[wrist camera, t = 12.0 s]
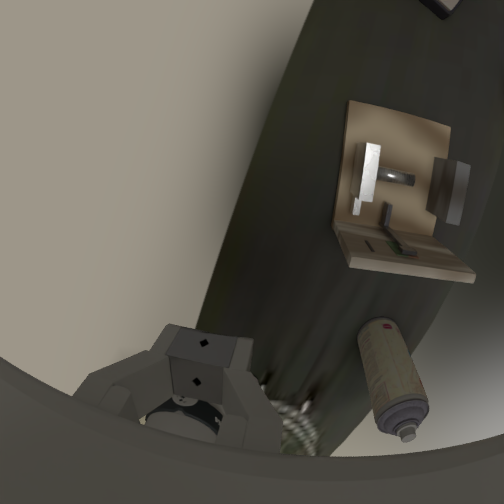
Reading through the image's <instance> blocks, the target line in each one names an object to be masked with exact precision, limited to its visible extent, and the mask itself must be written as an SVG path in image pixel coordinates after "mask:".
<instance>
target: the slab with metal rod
mask: <svg viewBox="0 0 504 504" xmlns="http://www.w3.org/2000/svg"><path fill="white" fill-rule="evenodd" d="M380 148H381V145H376V144H371V143H361V142H357V145H356V153H355V161H354V168H353V175H352V182H351V188H350V192H351V193H352V194H353V196H352V202H351V208H350V212H351V213H352V215H358V216H359V213H360V207H361V202H362V201H367V202H372V201H373V195H374V189H375V183H376V180H379V181H384V182H389V183H394V184H399V185H404V186H408V187H413V186H414V184H415V174H413V173H409V172H404V171H400V170H396V169H391V168H386V167H382V166H378V163H379V156H380Z"/></svg>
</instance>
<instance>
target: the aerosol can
mask: <svg viewBox="0 0 504 504" xmlns="http://www.w3.org/2000/svg"><path fill="white" fill-rule="evenodd" d="M357 341H358V346H359V350H360V354H361V358H362V362H363V366H364V371H365V375H366V380H367V384H368V389H369V394H370V398H371V403H372V408H373V413H374V419H375V423H376V424H377V428H378V429H379V430H380V431H381V432H383V433H386V434H392V435H395V436H399V437H401V441H402V442H409V441H412V440H413V439H414V438H415V437H416V433H415V431H416V429H417V428H418V426H419V425H420V424H421V423H422V421H423V420H424V418H425V417H426V416H427V414H428V412H429V405H428V398H427V395H426V393H425V390H424V388H423V385H422V383H421V380H420V378H419V375H418V373H417V370H416V368H415V365H414V363H413V360H412V358H411V356H410V353H409V351H408V349H407V346H406V344H405V342H404V340H403V337H402V335H401V333H400V331H399V329H398V326H397V325H396V323H395V322H394V321H393V320H392V319H390V318H387V317H376V318H373V319H371V320H369V321H367V322H366V323H365V324H364V325H363V326H362V327H361V328H360V330H359V332H358V334H357Z"/></svg>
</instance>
